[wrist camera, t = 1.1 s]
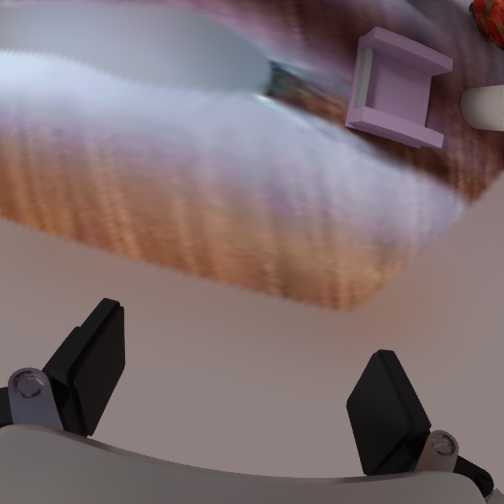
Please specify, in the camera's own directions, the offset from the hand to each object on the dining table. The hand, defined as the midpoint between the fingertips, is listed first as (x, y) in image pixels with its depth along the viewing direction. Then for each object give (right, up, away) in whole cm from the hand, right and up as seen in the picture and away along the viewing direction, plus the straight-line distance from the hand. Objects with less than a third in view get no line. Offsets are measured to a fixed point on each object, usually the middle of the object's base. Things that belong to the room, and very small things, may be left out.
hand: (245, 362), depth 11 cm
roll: (+31, +24, +21) cm, 45 cm away
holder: (+17, +23, +21) cm, 36 cm away
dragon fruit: (+35, +38, +15) cm, 54 cm away
